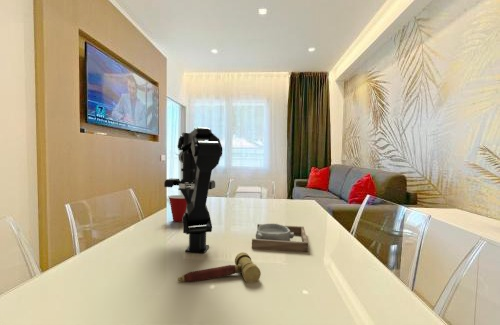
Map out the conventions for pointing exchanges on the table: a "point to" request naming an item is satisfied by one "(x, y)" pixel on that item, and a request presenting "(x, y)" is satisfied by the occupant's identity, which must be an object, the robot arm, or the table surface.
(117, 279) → the table surface
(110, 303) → the table surface
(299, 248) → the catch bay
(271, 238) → the dish
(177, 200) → the plastic cup
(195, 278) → the gavel
